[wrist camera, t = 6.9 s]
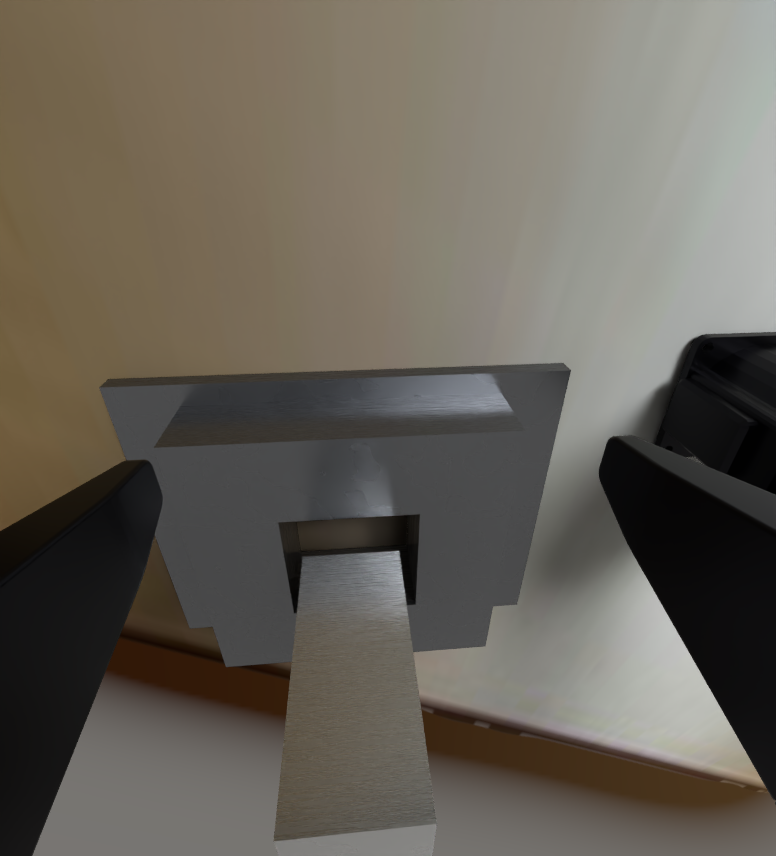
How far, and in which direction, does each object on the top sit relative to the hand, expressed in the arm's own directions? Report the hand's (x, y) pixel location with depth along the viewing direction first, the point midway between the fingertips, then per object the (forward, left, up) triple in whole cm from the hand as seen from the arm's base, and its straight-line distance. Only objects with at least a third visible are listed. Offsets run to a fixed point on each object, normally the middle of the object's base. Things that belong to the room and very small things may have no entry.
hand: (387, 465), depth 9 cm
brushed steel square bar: (+1, +11, -6) cm, 13 cm away
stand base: (+1, +11, -11) cm, 16 cm away
